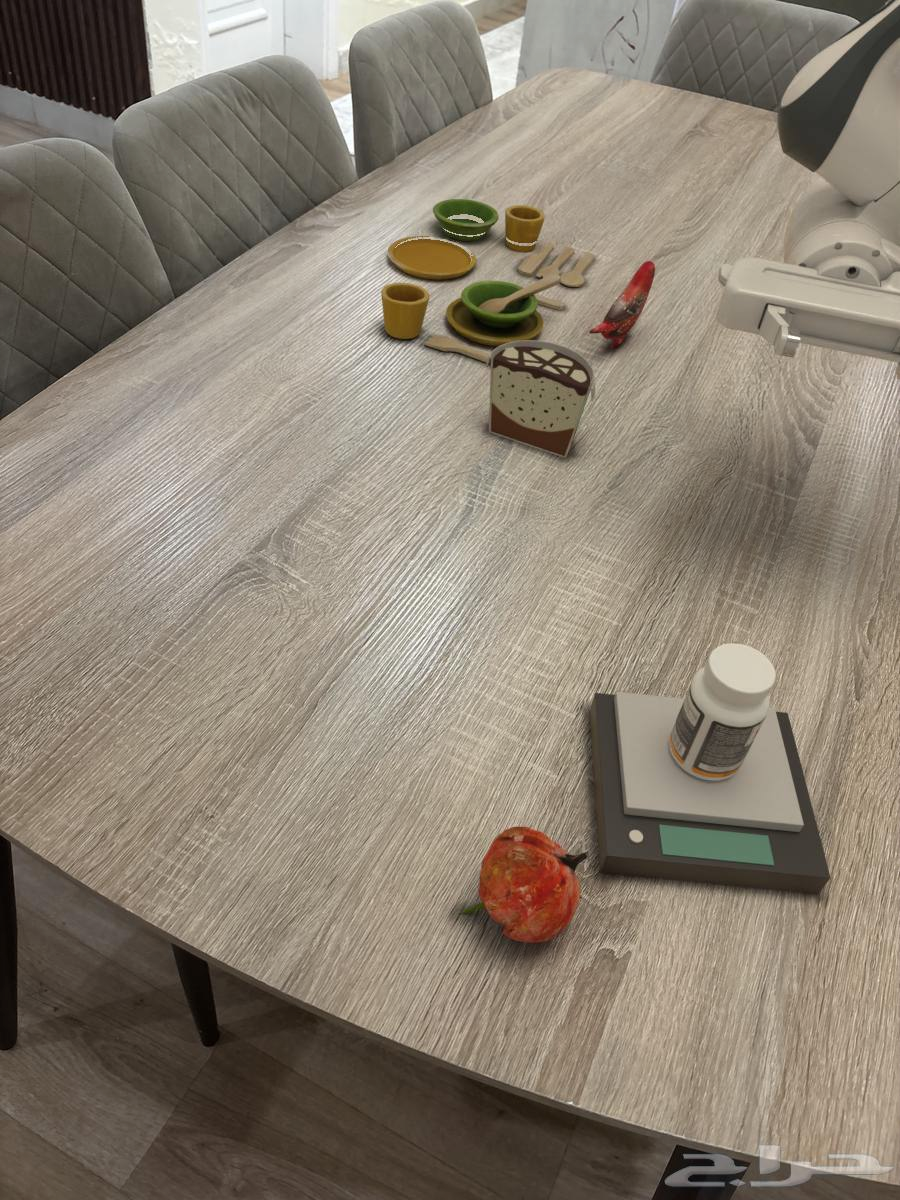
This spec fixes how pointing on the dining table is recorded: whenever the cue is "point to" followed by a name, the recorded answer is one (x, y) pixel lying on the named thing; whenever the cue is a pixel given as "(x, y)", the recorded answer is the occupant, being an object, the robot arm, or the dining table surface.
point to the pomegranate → (529, 885)
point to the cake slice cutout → (538, 393)
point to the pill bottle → (722, 712)
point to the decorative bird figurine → (627, 306)
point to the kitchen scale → (700, 804)
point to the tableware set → (484, 305)
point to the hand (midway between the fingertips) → (849, 360)
